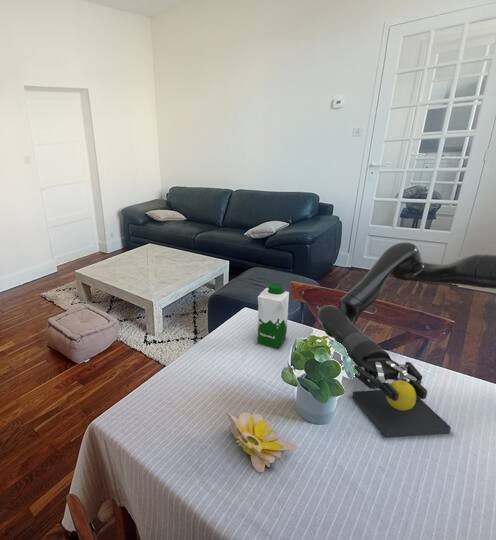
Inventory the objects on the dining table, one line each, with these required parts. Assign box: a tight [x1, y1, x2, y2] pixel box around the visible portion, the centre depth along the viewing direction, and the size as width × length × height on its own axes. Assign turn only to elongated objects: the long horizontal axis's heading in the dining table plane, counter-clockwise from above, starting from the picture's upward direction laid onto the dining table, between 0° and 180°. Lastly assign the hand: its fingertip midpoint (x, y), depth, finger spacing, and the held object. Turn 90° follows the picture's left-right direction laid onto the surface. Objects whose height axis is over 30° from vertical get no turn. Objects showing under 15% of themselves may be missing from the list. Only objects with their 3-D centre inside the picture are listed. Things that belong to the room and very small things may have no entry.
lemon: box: [386, 380, 416, 411], centre depth 78 cm, size 6×6×8 cm
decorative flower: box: [225, 410, 297, 473], centre depth 75 cm, size 15×11×10 cm
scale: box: [351, 389, 452, 438], centre depth 82 cm, size 15×14×4 cm
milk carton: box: [257, 283, 290, 350], centre depth 113 cm, size 9×9×20 cm
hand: (410, 396), depth 75 cm, fingers closed on lemon, 5 cm apart
